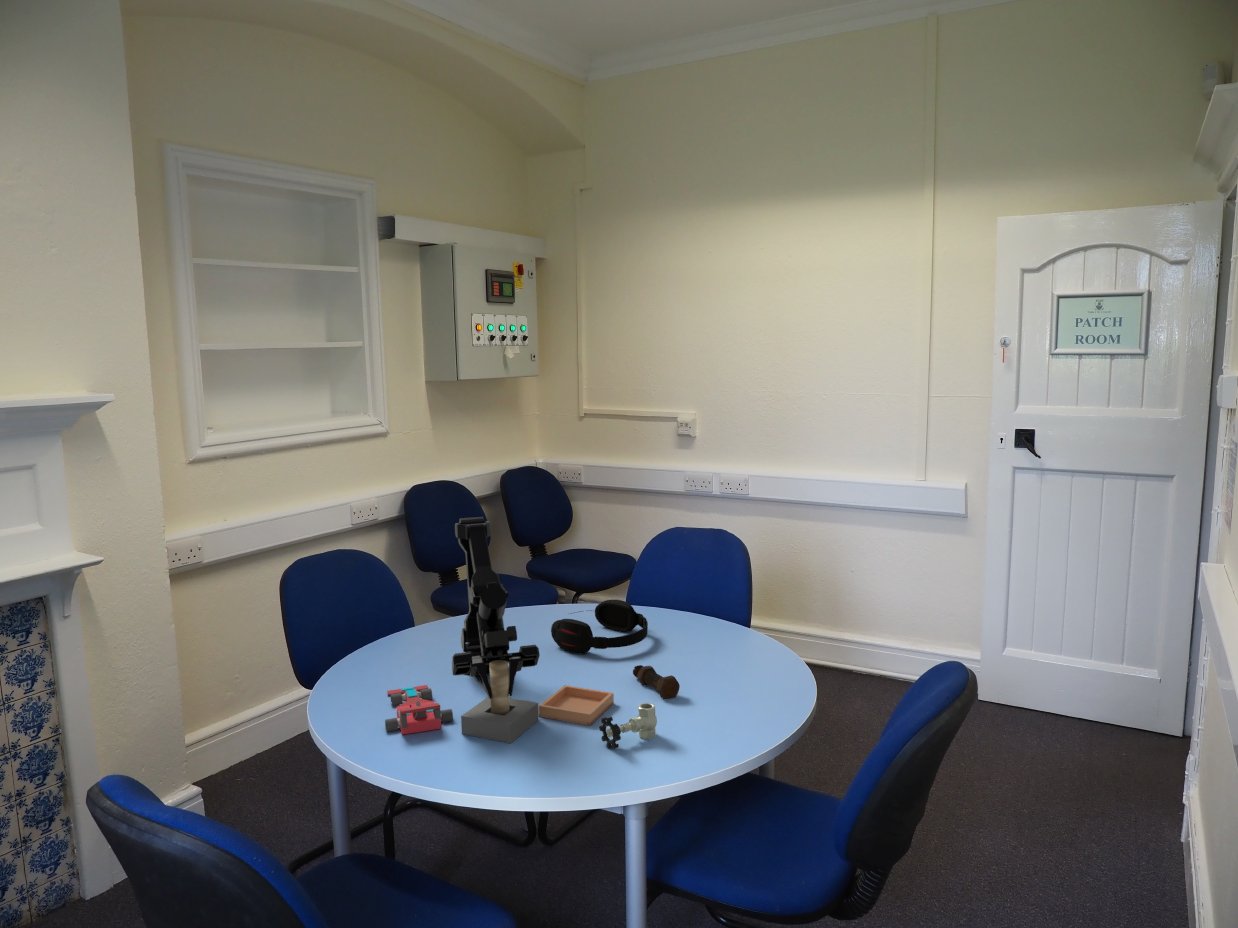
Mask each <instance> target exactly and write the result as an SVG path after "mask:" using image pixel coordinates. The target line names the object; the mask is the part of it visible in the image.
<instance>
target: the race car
mask: <svg viewBox="0 0 1238 928" xmlns="http://www.w3.org/2000/svg"><path fill="white" fill-rule="evenodd" d="M386 692H387V696H388V695H389V696H390V703H391V702H392V704H391V706H392V705H395V706H396V717H393V718H392V717H391V718H387V719H384V725H385V726H384V727H385V731H386V733H389V731H390V732H395V730H396V731H398V730H399V729H400V732H401V735H409V734H414V733H421V732H422V733H423V732H428V731H432V730H433V731H434V730H438V729H439V730H440V729H442V723H443V722H444V723H449V722H450V723H451V722H453V721H454V714H453V710H452V709H453V708H449V709H443V710H442V709H441V704H440V703H439V702H436V703H435V701H433V691H432V688H431V687H430V688H429V686H428V684H424V685H423V684H422V685H417V686H411V687H410V686H409V687H404V688H398V689H391V690H387V691H386ZM421 698H422V699H421ZM399 704H401V705H399ZM444 723H443V724H444Z"/></svg>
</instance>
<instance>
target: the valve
mask: <svg viewBox="0 0 1238 928" xmlns="http://www.w3.org/2000/svg"><path fill="white" fill-rule="evenodd" d="M612 721H614V718H613V717H612V716H609V717H606V716H605V717H601V719H600V722H601V723H602V725H599V726H598V730H599V731H600V732H602V736H601V741H602V742H606V748H607V749H608V750H609V749H617V748H619V743H616V742H617V741H621V740H622V736H621V734H624V733H628V732H630V731H631V732H632V733H634V734H635V733H638V736H639V738H640V739H644V740H651V739H655V738H656V727H657V724H658V718H657V715H656V706H655V704H654V703H651V702H642V703H640V704H638V714H637V717H636V716H634V717H631V718H629V720H628V722H626V723H623V724H620V726H619V724H618V723H615V724H613V723H612ZM607 727H609V728H607ZM611 737H612V739H610V738H611Z"/></svg>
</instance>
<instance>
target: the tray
mask: <svg viewBox="0 0 1238 928" xmlns="http://www.w3.org/2000/svg"><path fill="white" fill-rule="evenodd" d="M614 695H615V694H614V692H609V691H605V690H597V689H590V688H585V687H580V686H571V685H567V684H564V685H563V686H562V687H560V688H559V689H558V690H557V691H555V692H554V693H553V694H552V695H550V696H549V697H547V698H546V699H545V700H544V701H543V702H542V703H540V704H538V716H539V717H541V718H546V719H552V720H558V721H563V722H568V723H574V724H580V725H584V726H585V725H586V726H591V725H592V724H594V723H595V722H596V721H597V720H598V719H599V718H600V717H601V716H602V715H603V714H605V712H607V710H608V709H610V708H611V706H613V705H614V703H615V702H614V701H615V700H614V697H615V696H614Z"/></svg>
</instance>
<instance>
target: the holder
mask: <svg viewBox="0 0 1238 928" xmlns="http://www.w3.org/2000/svg"><path fill="white" fill-rule="evenodd" d="M509 706H510V712H508V713H507V714H506V715H498V714H493V713H491V699H489V697H488V696H487V697H486V698H485V699H483V700H482V701H480V702H479V703H478V704H476V705H475V706H473V707H471V708H470V709H469V710H468V711H465V713H464V712H463V714H462V715H461V716H460V720H461V721H460V723H461V724H460V725H461V734H462V735H467V736H471V737H477V738H482V739H487V740H491V741H497V742H502V743H507V744H512V743H513V742H514V741H516V740H517V739H518V738H519V737H520V736H521V735H523V734H524V733H525V732H526V731H527V730H528V729H530V728H531V727H532V726H534V724H535V725H536V723H538V721H539V702H536V701H535V702H534V701H529V700H524V699H518V698H512V697H509Z"/></svg>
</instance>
